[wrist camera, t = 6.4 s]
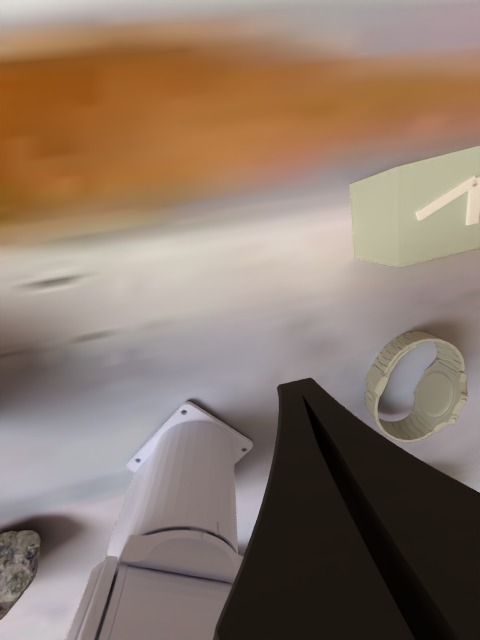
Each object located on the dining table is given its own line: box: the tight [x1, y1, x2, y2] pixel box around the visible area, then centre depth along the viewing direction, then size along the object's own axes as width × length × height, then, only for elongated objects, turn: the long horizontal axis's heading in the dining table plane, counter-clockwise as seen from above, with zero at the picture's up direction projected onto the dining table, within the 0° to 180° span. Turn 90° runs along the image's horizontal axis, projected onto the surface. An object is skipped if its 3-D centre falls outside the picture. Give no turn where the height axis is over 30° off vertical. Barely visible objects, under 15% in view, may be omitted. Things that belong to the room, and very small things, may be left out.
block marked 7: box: [349, 146, 480, 268], centre depth 15 cm, size 5×5×5 cm
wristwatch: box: [365, 331, 468, 442], centre depth 20 cm, size 9×6×5 cm
